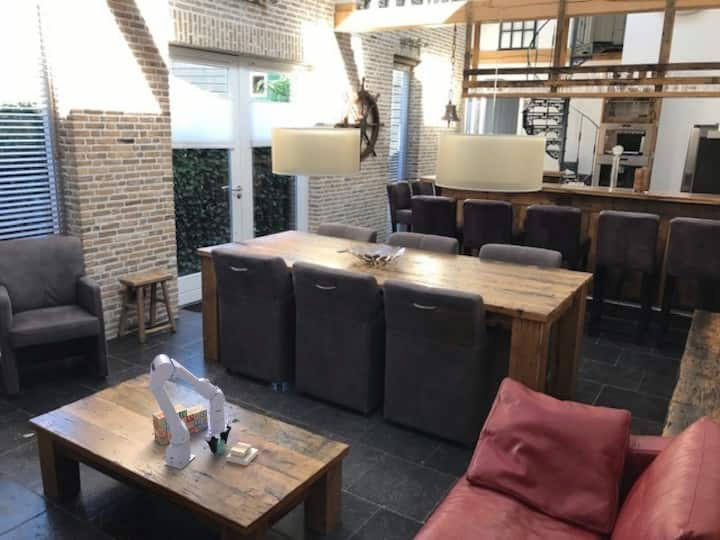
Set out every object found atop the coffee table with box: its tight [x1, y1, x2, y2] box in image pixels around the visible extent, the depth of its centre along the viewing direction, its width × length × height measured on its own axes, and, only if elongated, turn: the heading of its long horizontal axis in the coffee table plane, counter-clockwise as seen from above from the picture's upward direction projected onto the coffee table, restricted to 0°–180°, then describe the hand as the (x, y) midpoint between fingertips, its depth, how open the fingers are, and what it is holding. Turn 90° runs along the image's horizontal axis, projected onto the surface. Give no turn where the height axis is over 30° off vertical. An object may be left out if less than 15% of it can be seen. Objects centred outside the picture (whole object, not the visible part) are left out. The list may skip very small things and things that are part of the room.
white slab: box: [226, 447, 259, 466], centre depth 238 cm, size 9×9×2 cm
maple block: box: [229, 441, 253, 458], centre depth 237 cm, size 6×6×2 cm
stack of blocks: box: [152, 404, 209, 446], centre depth 253 cm, size 21×6×12 cm, turn 130°
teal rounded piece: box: [213, 438, 226, 456], centre depth 242 cm, size 5×5×4 cm
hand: (219, 447), depth 242 cm, fingers open, 6 cm apart
